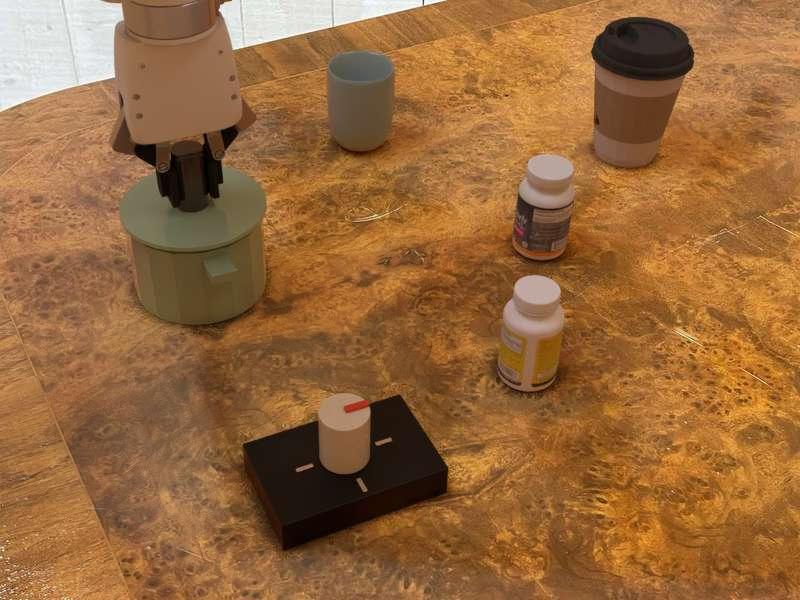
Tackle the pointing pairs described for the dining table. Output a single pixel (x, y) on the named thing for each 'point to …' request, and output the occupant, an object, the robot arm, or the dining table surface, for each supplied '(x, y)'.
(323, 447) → the knob
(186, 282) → the pot
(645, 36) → the coffee cup
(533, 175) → the pill bottle
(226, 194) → the pot lid
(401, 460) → the panel
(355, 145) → the cup
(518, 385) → the supplement bottle
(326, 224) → the dining table surface
